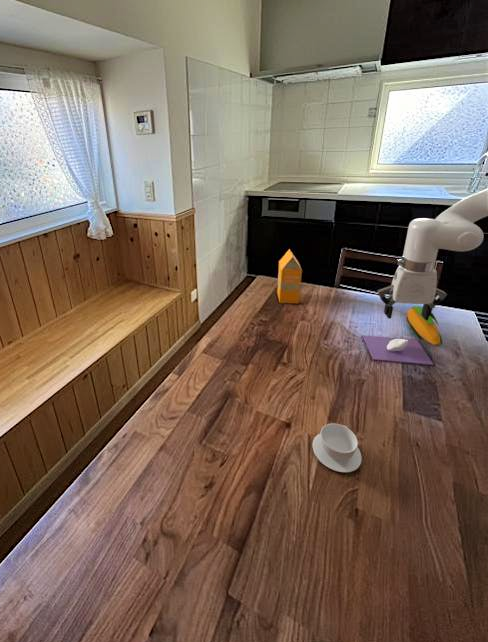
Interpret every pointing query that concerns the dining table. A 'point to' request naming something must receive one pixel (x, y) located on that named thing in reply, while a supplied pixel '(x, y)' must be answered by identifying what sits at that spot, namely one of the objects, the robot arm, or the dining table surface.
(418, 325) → the corn
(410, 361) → the cloth
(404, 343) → the dumpling
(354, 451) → the teacup
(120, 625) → the dining table surface
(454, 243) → the robot arm
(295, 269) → the orange juice
